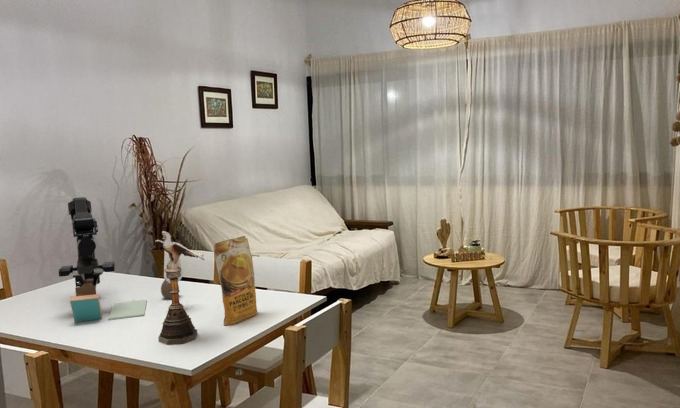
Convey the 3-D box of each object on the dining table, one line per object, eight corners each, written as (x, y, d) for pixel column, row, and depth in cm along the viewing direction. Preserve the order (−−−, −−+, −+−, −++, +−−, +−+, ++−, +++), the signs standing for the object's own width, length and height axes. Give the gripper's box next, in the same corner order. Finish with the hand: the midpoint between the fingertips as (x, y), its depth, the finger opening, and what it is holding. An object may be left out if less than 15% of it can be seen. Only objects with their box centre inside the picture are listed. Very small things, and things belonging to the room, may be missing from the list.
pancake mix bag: (211, 325, 187) (206, 243, 184) (250, 309, 203) (246, 234, 199) (226, 328, 183) (220, 244, 180) (264, 312, 199) (260, 235, 196)
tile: (75, 317, 198) (70, 297, 193) (102, 314, 201) (98, 294, 195) (74, 322, 196) (69, 301, 191) (101, 319, 199) (98, 298, 193)
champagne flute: (180, 312, 202) (175, 247, 199) (163, 312, 203) (158, 247, 201) (188, 307, 209) (184, 244, 206) (172, 306, 210) (167, 244, 207)
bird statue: (191, 324, 189) (183, 222, 185) (216, 331, 181) (209, 224, 177) (148, 339, 176) (139, 230, 172) (173, 347, 168) (164, 232, 164)
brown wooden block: (82, 292, 208) (81, 279, 208) (100, 290, 210) (99, 277, 210) (76, 301, 196) (75, 288, 195) (96, 299, 198) (95, 285, 197)
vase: (161, 301, 218) (159, 279, 217) (161, 296, 225) (160, 275, 224) (179, 299, 220) (177, 277, 219) (179, 294, 227) (178, 273, 226)
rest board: (114, 304, 216) (114, 303, 216) (146, 301, 219) (146, 299, 219) (108, 320, 197) (108, 318, 197) (144, 315, 200) (144, 314, 200)
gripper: (53, 256, 193) (57, 300, 195) (111, 251, 199) (114, 294, 200) (59, 251, 204) (63, 292, 206) (114, 246, 209) (117, 286, 211)
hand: (90, 291), depth 205 cm, fingers closed on brown wooden block, 3 cm apart
